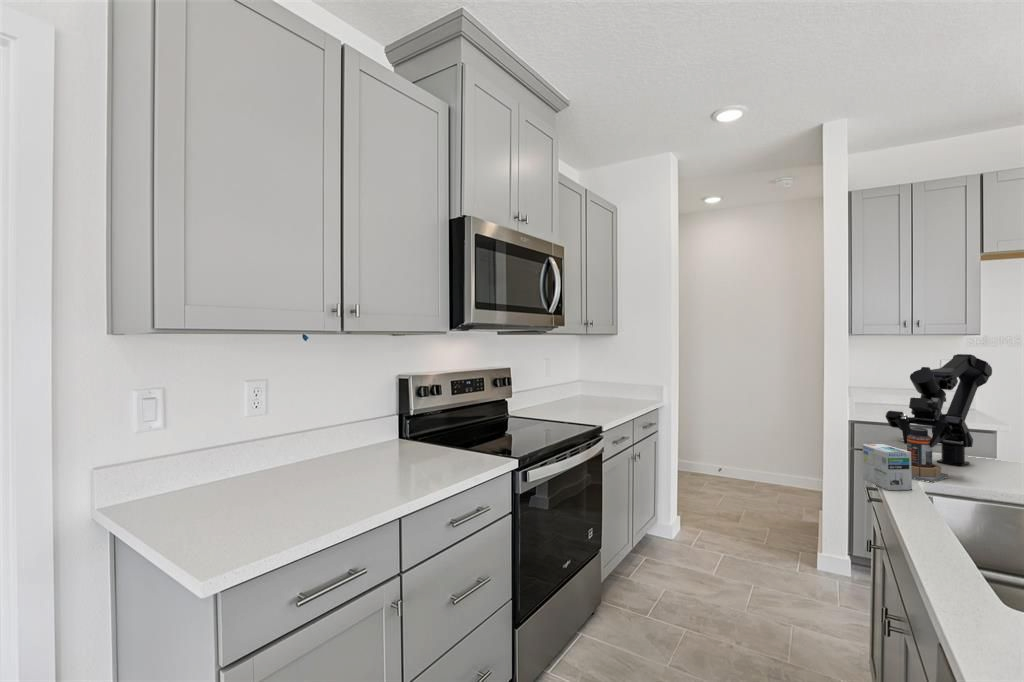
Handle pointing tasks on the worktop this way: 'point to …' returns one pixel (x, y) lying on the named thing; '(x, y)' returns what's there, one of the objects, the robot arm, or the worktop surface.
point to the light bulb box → (887, 466)
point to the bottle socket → (928, 473)
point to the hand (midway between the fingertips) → (917, 444)
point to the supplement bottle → (920, 448)
